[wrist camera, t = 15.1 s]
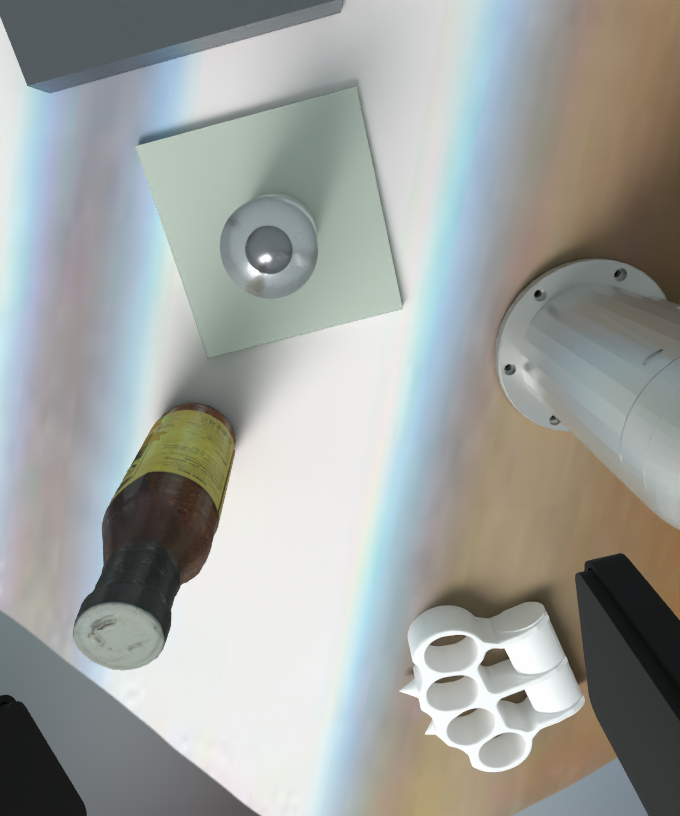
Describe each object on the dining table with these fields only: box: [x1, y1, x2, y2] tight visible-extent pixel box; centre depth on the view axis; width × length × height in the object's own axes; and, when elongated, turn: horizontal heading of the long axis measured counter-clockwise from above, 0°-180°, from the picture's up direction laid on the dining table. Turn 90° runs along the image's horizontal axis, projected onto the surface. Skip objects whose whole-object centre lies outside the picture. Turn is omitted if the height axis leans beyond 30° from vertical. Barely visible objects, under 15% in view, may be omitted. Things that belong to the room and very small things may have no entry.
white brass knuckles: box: [400, 602, 585, 772], centre depth 53 cm, size 3×18×15 cm
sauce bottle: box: [73, 403, 235, 670], centre depth 35 cm, size 6×6×20 cm
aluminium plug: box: [220, 192, 318, 299], centre depth 34 cm, size 5×5×9 cm
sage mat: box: [135, 86, 403, 358], centre depth 39 cm, size 14×14×1 cm
